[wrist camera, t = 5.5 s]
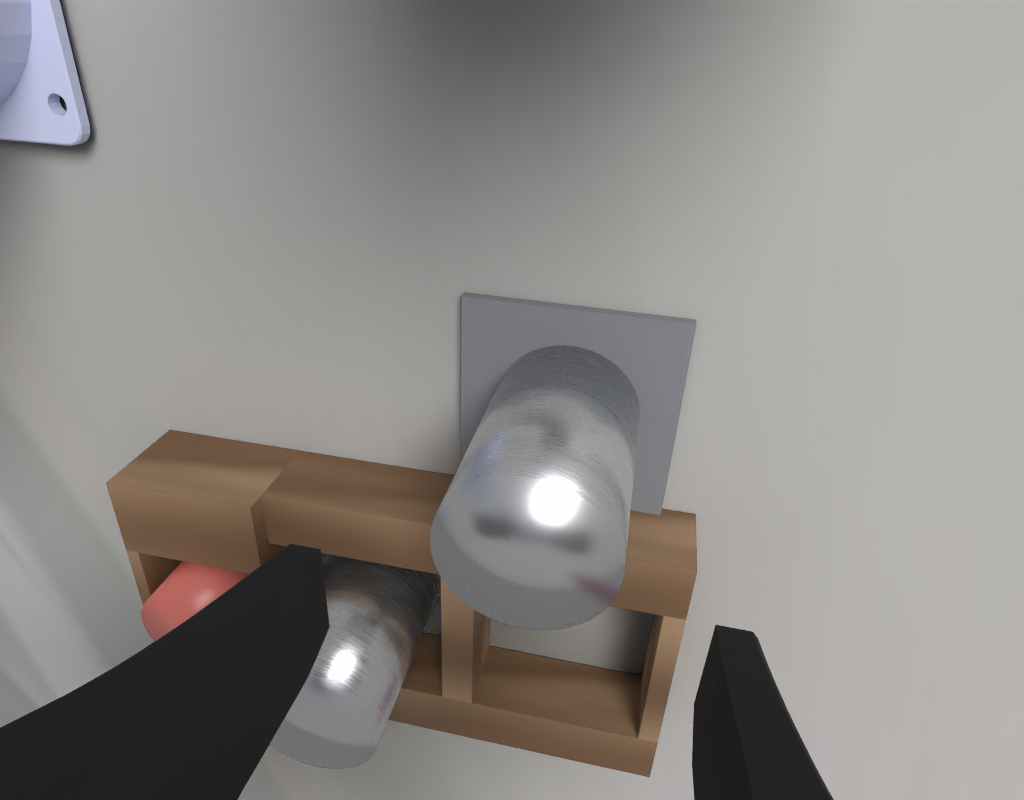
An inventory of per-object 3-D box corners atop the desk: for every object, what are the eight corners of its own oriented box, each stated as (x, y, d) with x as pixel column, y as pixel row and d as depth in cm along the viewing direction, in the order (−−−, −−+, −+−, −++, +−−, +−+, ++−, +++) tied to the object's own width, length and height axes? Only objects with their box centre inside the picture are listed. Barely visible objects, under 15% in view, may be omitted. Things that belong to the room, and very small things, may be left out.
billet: (497, 336, 19) (427, 461, 14) (649, 355, 18) (636, 494, 13) (493, 460, 21) (431, 610, 16) (630, 481, 20) (612, 645, 15)
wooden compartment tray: (169, 430, 23) (106, 482, 21) (695, 514, 20) (697, 587, 18) (215, 623, 28) (168, 686, 25) (652, 713, 25) (648, 794, 22)
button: (191, 523, 24) (131, 586, 21) (273, 538, 23) (222, 604, 21) (206, 588, 25) (152, 654, 23) (284, 603, 25) (238, 673, 22)
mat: (464, 292, 19) (461, 296, 18) (695, 319, 18) (695, 324, 17) (463, 477, 22) (460, 482, 21) (660, 508, 21) (660, 515, 20)
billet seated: (327, 515, 24) (229, 656, 18) (442, 535, 23) (373, 687, 18) (337, 601, 26) (251, 750, 20) (443, 622, 25) (381, 781, 20)
